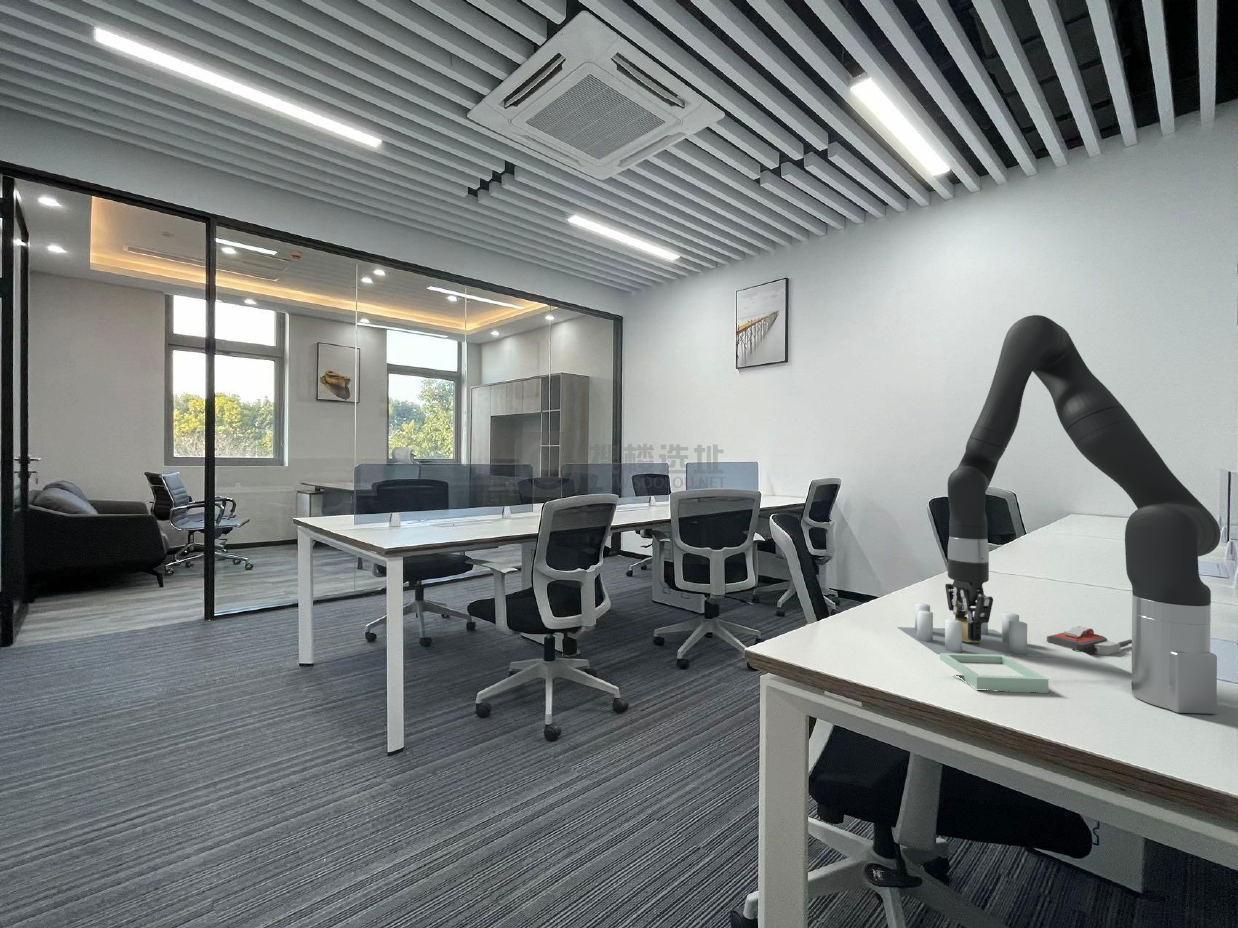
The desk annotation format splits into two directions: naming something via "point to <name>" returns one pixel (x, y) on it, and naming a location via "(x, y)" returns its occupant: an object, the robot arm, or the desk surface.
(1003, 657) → the tray
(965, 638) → the khaki cube
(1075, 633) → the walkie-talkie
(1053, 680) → the desk surface
